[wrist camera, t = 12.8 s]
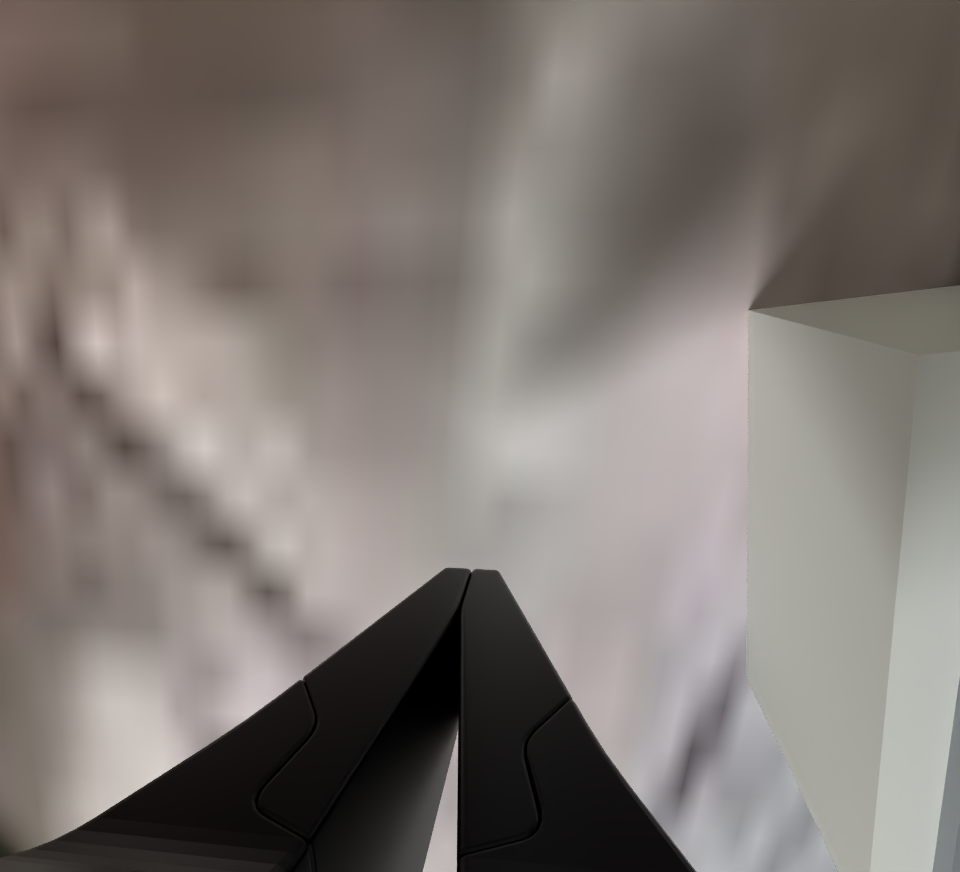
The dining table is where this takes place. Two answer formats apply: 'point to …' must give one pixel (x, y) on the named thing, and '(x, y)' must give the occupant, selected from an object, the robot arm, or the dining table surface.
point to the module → (860, 567)
